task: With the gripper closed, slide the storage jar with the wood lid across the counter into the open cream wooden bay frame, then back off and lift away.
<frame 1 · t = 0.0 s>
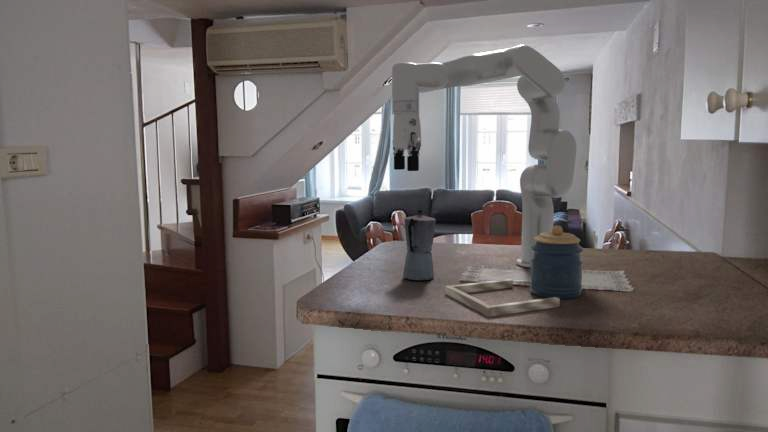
hand: (406, 170, 158), 31 cm above the worktop, tool pointing down, fingers open, 9 cm apart
bay frame: (502, 299, 139), on the worktop
moka pot: (418, 279, 162), on the worktop
canister: (555, 293, 145), on the worktop
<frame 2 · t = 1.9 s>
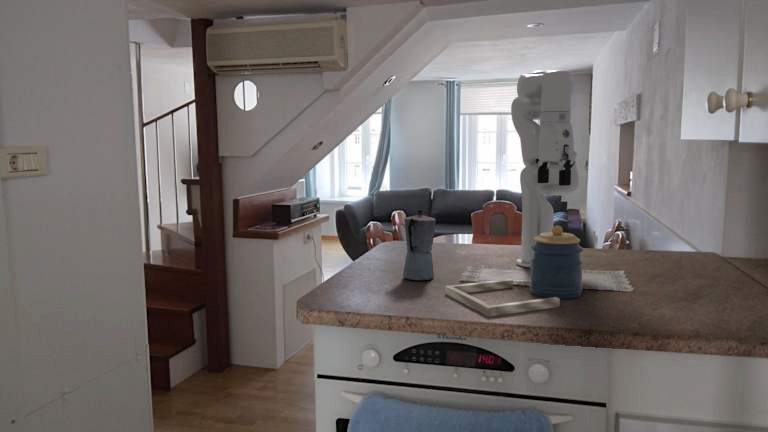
hand: (553, 184, 149), 28 cm above the worktop, tool pointing down, fingers open, 9 cm apart
nothing on the worktop moved.
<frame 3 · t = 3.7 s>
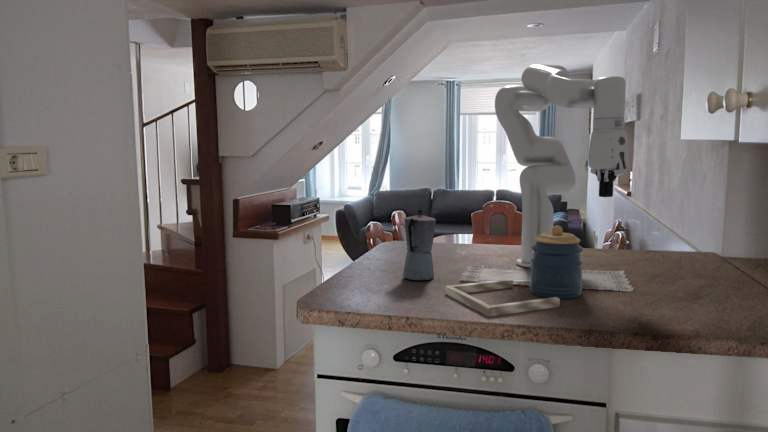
hand: (605, 196, 147), 24 cm above the worktop, tool pointing down, fingers closed
nothing on the worktop moved.
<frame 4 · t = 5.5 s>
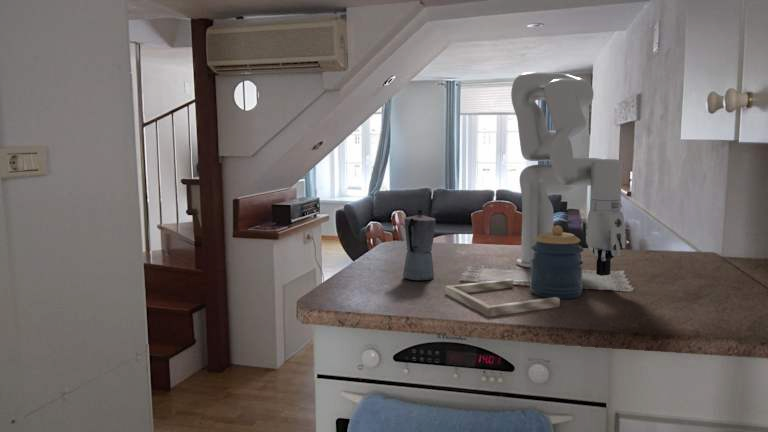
hand: (603, 274, 149), 3 cm above the worktop, tool pointing down, fingers closed
nothing on the worktop moved.
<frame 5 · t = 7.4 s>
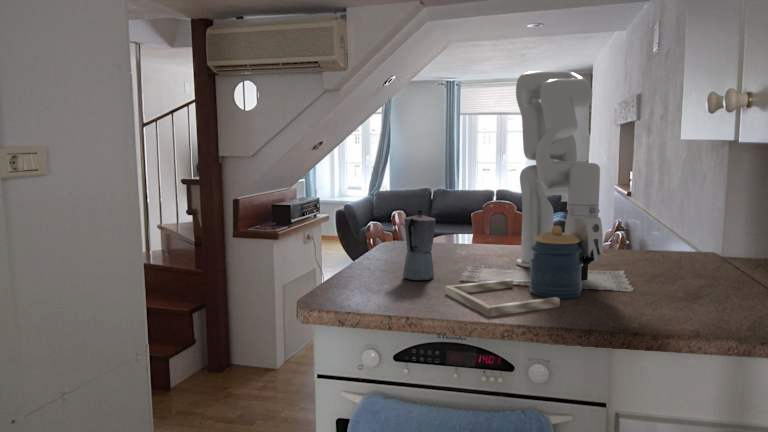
hand: (580, 279, 147), 3 cm above the worktop, tool pointing down, fingers closed
canister: (555, 293, 145), on the worktop, touching gripper
everything else where it was.
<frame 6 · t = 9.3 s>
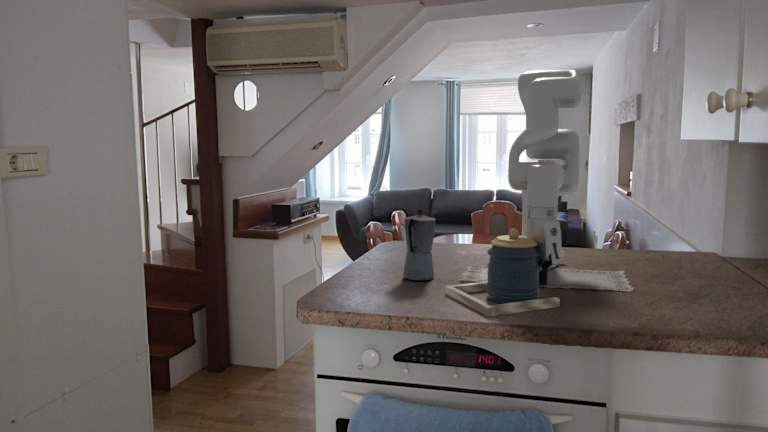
hand: (540, 284, 143), 3 cm above the worktop, tool pointing down, fingers closed
canister: (512, 298, 141), on the worktop, touching gripper
everything else where it was.
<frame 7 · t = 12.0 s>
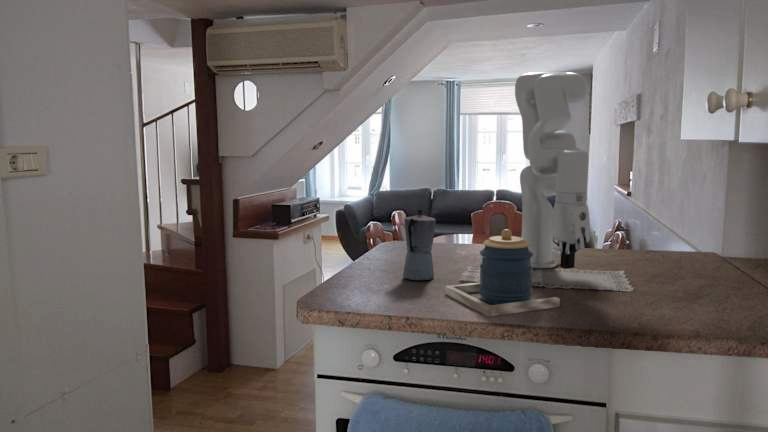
hand: (567, 267, 147), 6 cm above the worktop, tool pointing down, fingers closed
canister: (505, 299, 140), on the worktop
everything else where it was.
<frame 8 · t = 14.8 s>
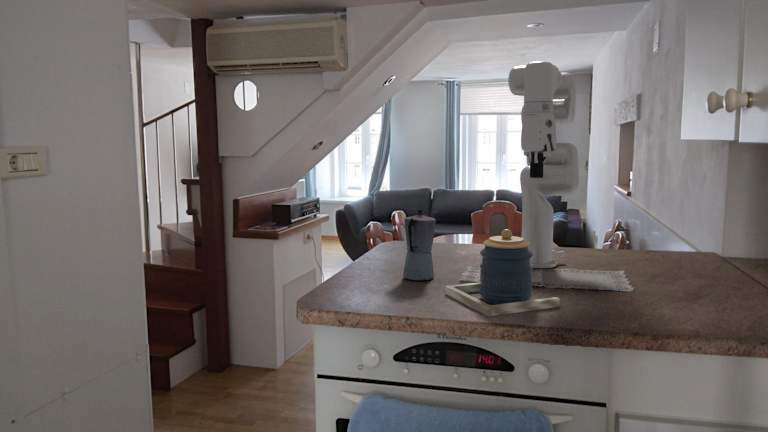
hand: (536, 177, 153), 29 cm above the worktop, tool pointing down, fingers closed
nothing on the worktop moved.
at the end: canister inside the target area on the bay frame (1.0 cm from its centre), point 0.0 cm above the bay frame's base; canister tilted 0°; canister moved 15.0 cm from its start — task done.
